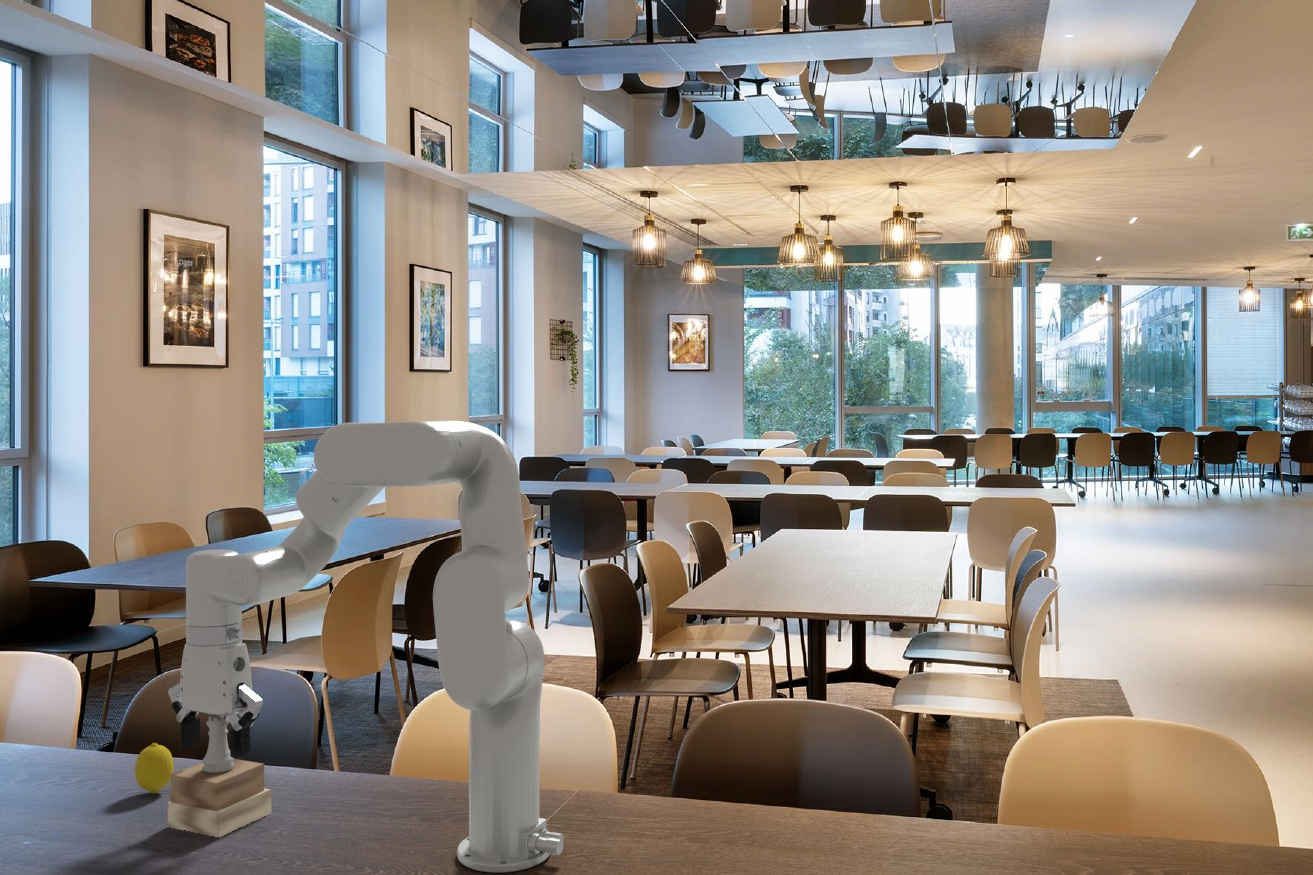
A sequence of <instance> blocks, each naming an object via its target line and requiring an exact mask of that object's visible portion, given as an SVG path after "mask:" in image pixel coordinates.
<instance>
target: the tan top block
mask: <svg viewBox="0 0 1313 875" xmlns="http://www.w3.org/2000/svg"><path fill="white" fill-rule="evenodd" d="M232 762H233V763H234V766H233V768H232V769H231V770H229V771H227V772H224V773H218V774H208V773H205V772H204V771H203V770H202V767H203V766H204V764H203V762H199V763H197V764H195V765H191V766H190V767H187V768H186V767H185V768H184V769H181V770H179V771H176V772H173V774H171V780H170V801H171V802H174V803H179V804H184V805H189V806H194V807H199V808H204V809H209V810H214V811H218V810H221V809H223V808H225V807H228V806H230V805H232V804H234V803H237V802H239V801H241V800H244V799H246V798H248V797H250V796H253V795H255V794H257V793H260V792H262V791H264V788H265V763H261V762H255V761H249V760H243V759H237V758H234V760H233V761H232Z"/></svg>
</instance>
